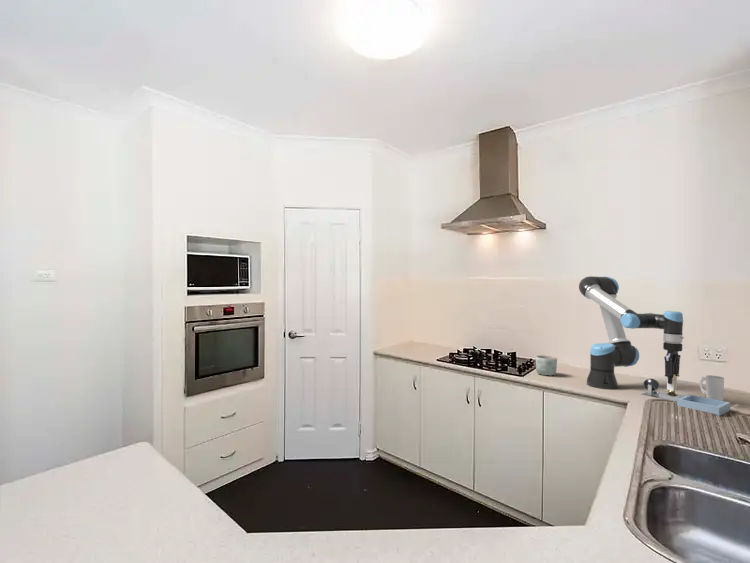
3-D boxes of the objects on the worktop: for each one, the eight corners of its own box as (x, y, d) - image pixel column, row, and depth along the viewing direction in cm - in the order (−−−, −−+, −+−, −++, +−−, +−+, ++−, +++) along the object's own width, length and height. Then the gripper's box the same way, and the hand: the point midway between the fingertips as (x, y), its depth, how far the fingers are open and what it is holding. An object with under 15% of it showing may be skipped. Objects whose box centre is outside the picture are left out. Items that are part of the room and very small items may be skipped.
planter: (554, 373, 250) (554, 356, 250) (558, 377, 238) (559, 359, 238) (533, 371, 253) (534, 354, 253) (537, 376, 241) (537, 358, 241)
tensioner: (640, 395, 201) (640, 378, 201) (648, 392, 206) (649, 376, 207) (680, 404, 187) (680, 386, 187) (688, 400, 192) (688, 383, 193)
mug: (727, 402, 191) (727, 378, 191) (718, 403, 189) (718, 378, 189) (703, 397, 200) (704, 373, 201) (695, 397, 198) (695, 374, 198)
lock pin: (667, 396, 194) (667, 374, 194) (669, 395, 196) (669, 373, 196) (673, 397, 192) (674, 375, 192) (676, 396, 194) (676, 374, 194)
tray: (677, 406, 182) (677, 398, 182) (689, 401, 191) (689, 394, 191) (719, 416, 170) (719, 407, 170) (730, 410, 178) (730, 402, 178)
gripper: (675, 344, 187) (674, 393, 186) (688, 342, 195) (687, 389, 195) (657, 342, 193) (656, 390, 193) (670, 340, 202) (669, 385, 202)
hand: (671, 389), depth 194 cm, fingers closed on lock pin, 3 cm apart
